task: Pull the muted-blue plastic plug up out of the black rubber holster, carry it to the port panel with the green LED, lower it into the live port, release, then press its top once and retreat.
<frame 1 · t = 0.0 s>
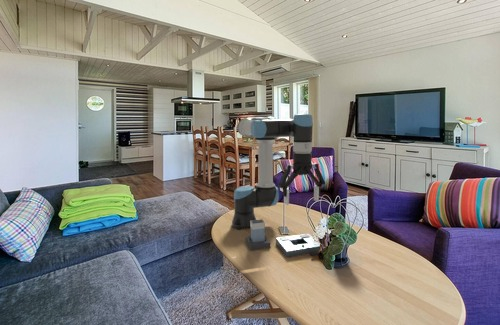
hand: (301, 202, 109), 28 cm above the table, fingers open, 13 cm apart
holster: (257, 246, 130), on the table
plug: (257, 244, 130), point 1 cm above the table, touching holster
port panel: (298, 249, 126), on the table
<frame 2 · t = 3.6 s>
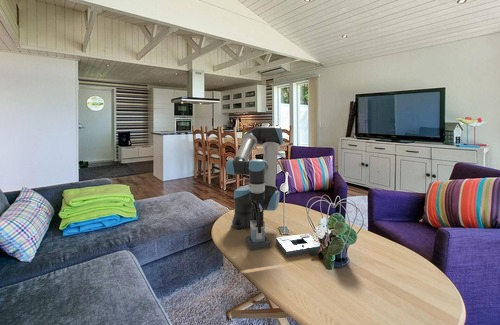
hand: (257, 236, 129), 5 cm above the table, fingers closed on plug, 4 cm apart
plug: (257, 244, 130), point 1 cm above the table, touching gripper, holster
everything else where it was.
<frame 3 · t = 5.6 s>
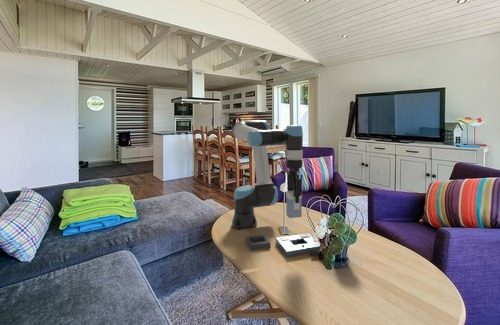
hand: (294, 207, 122), 21 cm above the table, fingers closed on plug, 4 cm apart
plug: (293, 216, 123), point 17 cm above the table, touching gripper
everything else where it was.
when the fingers open (6 cm above the table, at t = 8.0 s): plug drops 1 cm, resting on port panel.
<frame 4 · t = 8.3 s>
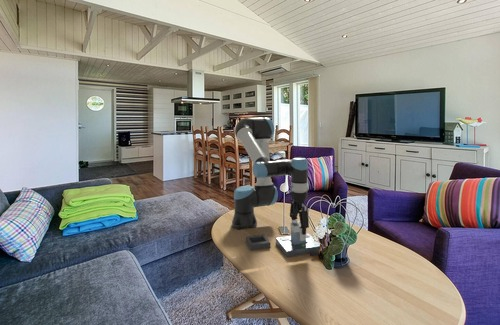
hand: (298, 236, 125), 7 cm above the table, fingers open, 8 cm apart
plug: (298, 247, 126), point 1 cm above the table, touching port panel
everything else where it was.
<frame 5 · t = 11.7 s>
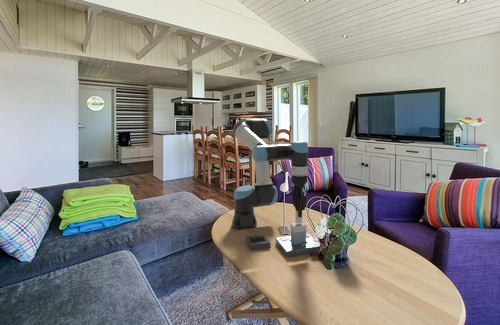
hand: (298, 222, 124), 14 cm above the table, fingers closed
nothing on the table moved.
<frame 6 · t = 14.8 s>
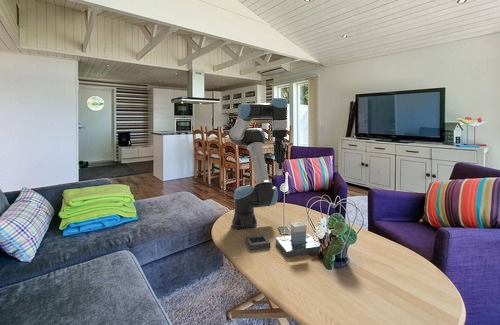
hand: (279, 175, 134), 34 cm above the table, fingers closed
nothing on the table moved.
at the end: plug 0.1 cm off-centre on the port panel, point 1.0 cm above the port panel's base; plug tilted 0°; the gripper is holding nothing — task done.
